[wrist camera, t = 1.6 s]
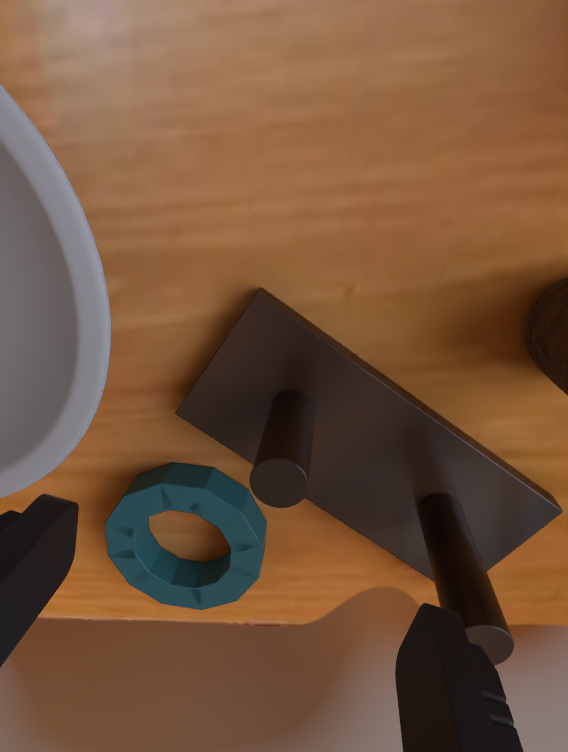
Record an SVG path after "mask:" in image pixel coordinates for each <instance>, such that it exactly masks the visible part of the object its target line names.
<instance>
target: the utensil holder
mask: <svg viewBox="0 0 568 752" xmlns="http://www.w3.org/2000/svg"><path fill="white" fill-rule="evenodd" d="M525 339H526V345H527V349H528V352H529V354H530V356H531V358H532V360H533V361H534V363H535V364H536V365H537V367H538V368H539V369H540V370H541V371H542V372H543V373H544V374H545V375H546V376H547V377H548V378H549V379H550V380H551V381H552V382H553V383H555V384H556V385H557V386H558V387H559V388H560V389H561V390H562V391H564V392H565V393H566V394H567V395H568V279H566V280H564V281H562V282H560V283H559V284H557V285H555V286H554V287H552V288H551V289H550V290H549V291H547V292H546V293H545V294H544V295H543V296H542V297H541V298H540V300H539V301H538V302H537V303H536V305H535V306H534V308H533V310H532V311H531V313H530V316H529V318H528V321H527V325H526V332H525Z"/></svg>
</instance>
